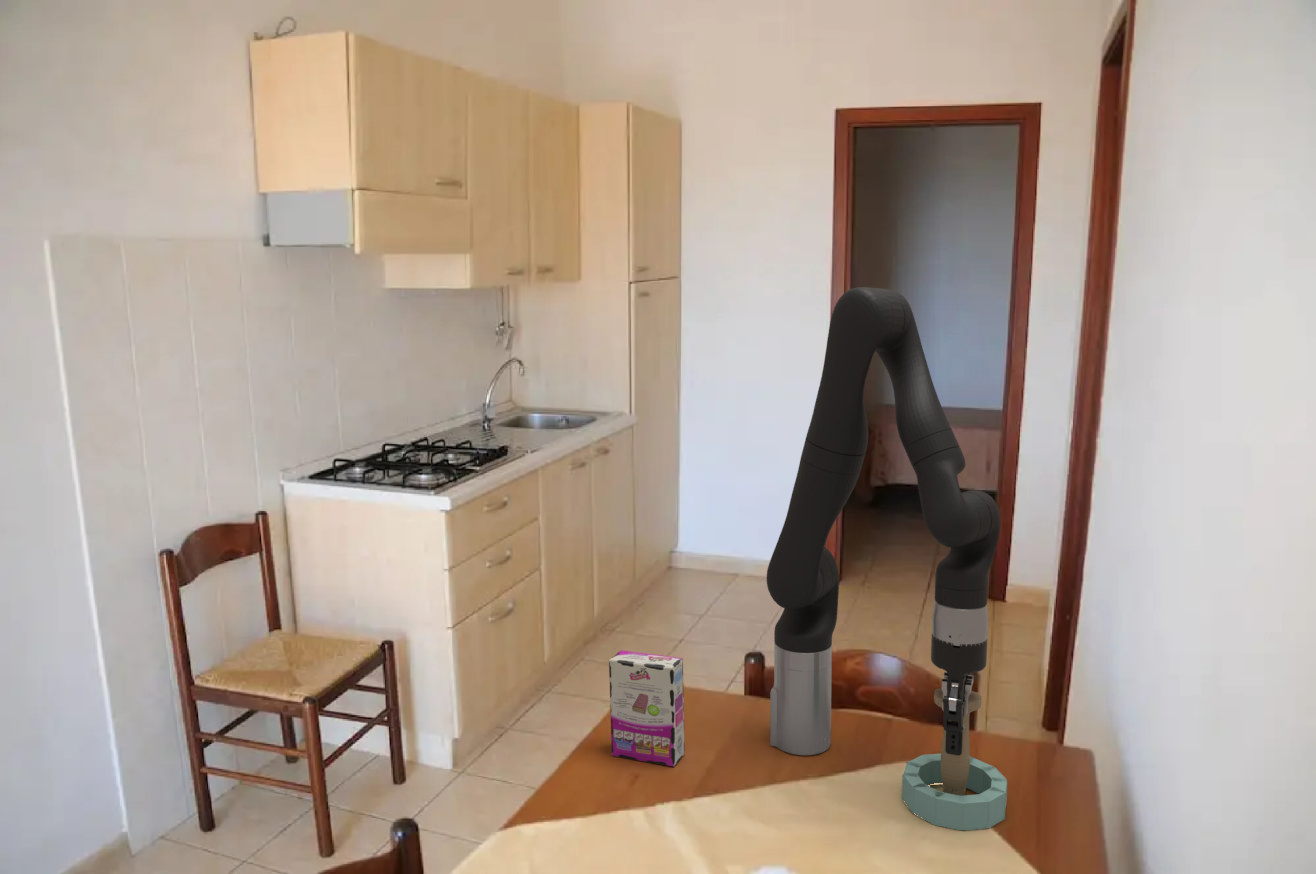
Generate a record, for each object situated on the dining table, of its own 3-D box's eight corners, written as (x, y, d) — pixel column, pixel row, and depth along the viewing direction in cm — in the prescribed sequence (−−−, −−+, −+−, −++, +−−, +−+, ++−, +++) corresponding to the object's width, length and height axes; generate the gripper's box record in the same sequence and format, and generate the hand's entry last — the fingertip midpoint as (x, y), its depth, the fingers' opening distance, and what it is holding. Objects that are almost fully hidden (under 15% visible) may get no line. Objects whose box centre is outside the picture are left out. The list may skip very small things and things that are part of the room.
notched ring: (896, 818, 133) (896, 791, 133) (910, 771, 146) (911, 747, 145) (1002, 839, 128) (1003, 811, 127) (1008, 788, 141) (1009, 763, 140)
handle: (978, 805, 134) (982, 704, 131) (930, 798, 135) (934, 699, 133) (976, 788, 138) (980, 690, 136) (930, 782, 140) (934, 686, 138)
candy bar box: (685, 754, 153) (684, 657, 150) (674, 768, 148) (673, 668, 146) (622, 742, 157) (620, 648, 154) (609, 756, 152) (607, 659, 150)
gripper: (937, 613, 141) (934, 722, 144) (925, 646, 128) (921, 765, 131) (991, 619, 138) (986, 730, 141) (983, 653, 125) (978, 775, 128)
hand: (955, 746), depth 136 cm, fingers closed on handle, 3 cm apart
